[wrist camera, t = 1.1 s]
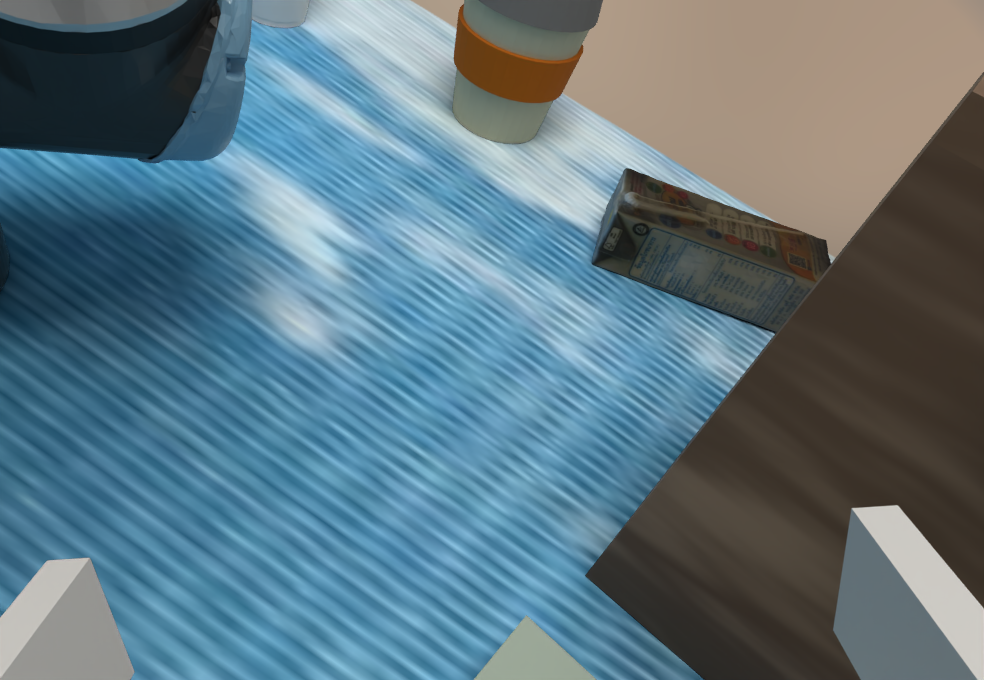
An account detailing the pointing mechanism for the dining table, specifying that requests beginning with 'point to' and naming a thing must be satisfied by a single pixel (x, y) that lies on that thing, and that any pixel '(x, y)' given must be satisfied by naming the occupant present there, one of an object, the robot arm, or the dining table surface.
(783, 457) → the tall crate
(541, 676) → the grey-green flat box
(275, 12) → the foam cup
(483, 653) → the dining table surface
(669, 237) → the beverage carton
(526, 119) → the reusable coffee cup
